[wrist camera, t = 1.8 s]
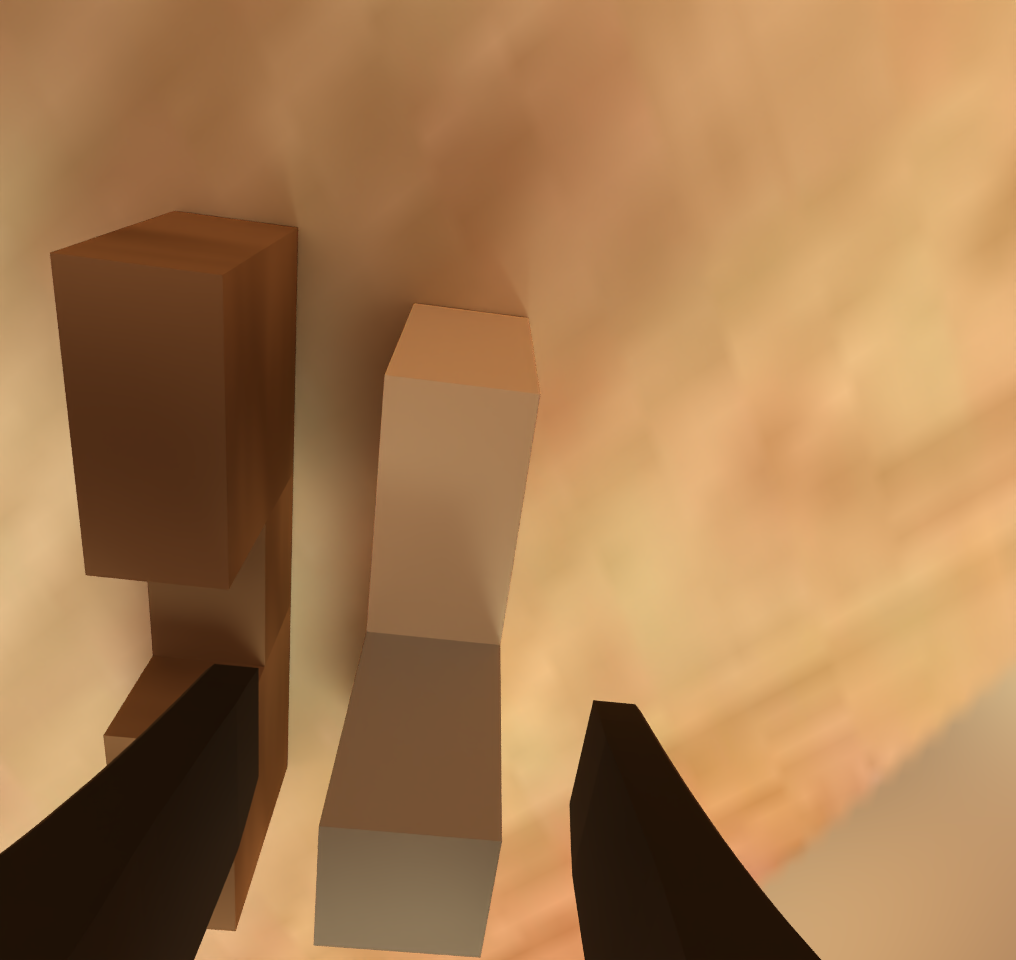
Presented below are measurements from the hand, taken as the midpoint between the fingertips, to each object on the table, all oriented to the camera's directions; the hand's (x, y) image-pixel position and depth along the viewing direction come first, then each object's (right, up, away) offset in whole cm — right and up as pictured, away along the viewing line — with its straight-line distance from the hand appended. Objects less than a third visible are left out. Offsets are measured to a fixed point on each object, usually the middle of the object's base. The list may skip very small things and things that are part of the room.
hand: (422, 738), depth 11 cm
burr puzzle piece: (0, +2, +5) cm, 5 cm away
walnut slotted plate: (-4, +3, +4) cm, 6 cm away
